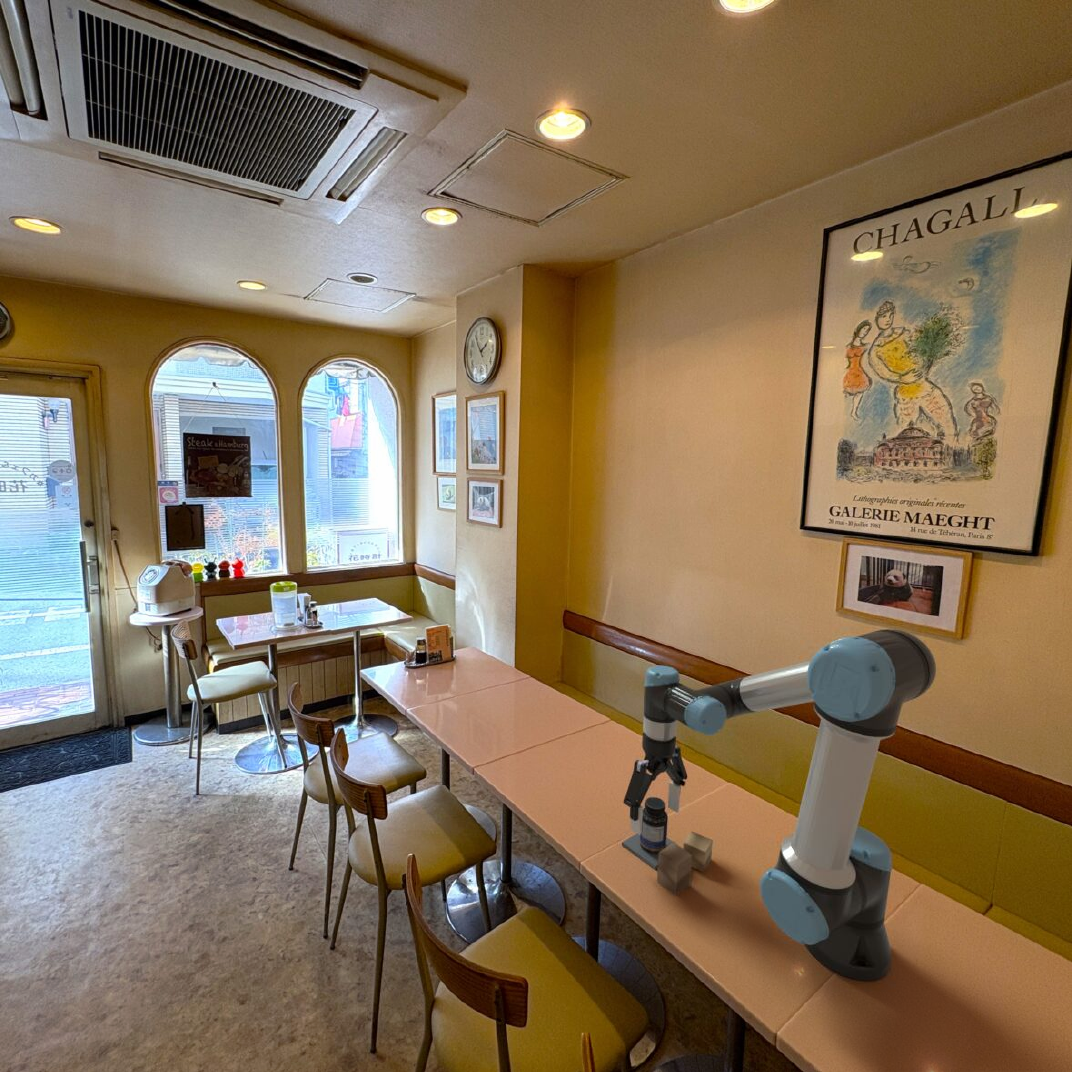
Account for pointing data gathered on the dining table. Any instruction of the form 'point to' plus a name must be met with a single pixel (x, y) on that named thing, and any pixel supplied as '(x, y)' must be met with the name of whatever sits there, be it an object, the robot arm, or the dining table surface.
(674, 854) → the walnut block
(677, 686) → the robot arm
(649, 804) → the pill bottle
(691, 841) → the oak block
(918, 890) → the dining table surface
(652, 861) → the slate coaster
